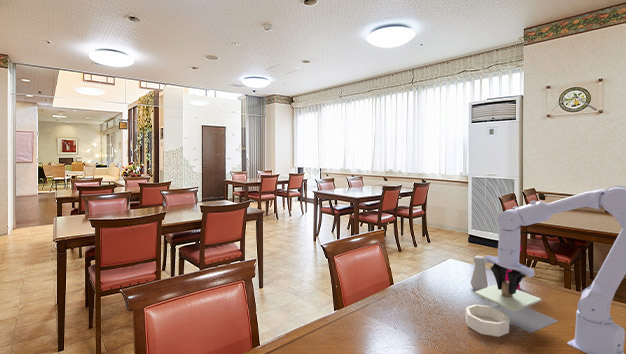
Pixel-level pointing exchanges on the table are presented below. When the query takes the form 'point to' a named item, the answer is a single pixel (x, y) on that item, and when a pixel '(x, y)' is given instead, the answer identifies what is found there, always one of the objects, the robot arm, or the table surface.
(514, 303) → the cover
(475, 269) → the salt shaker
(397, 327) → the table surface
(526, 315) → the mat
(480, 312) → the bowl
